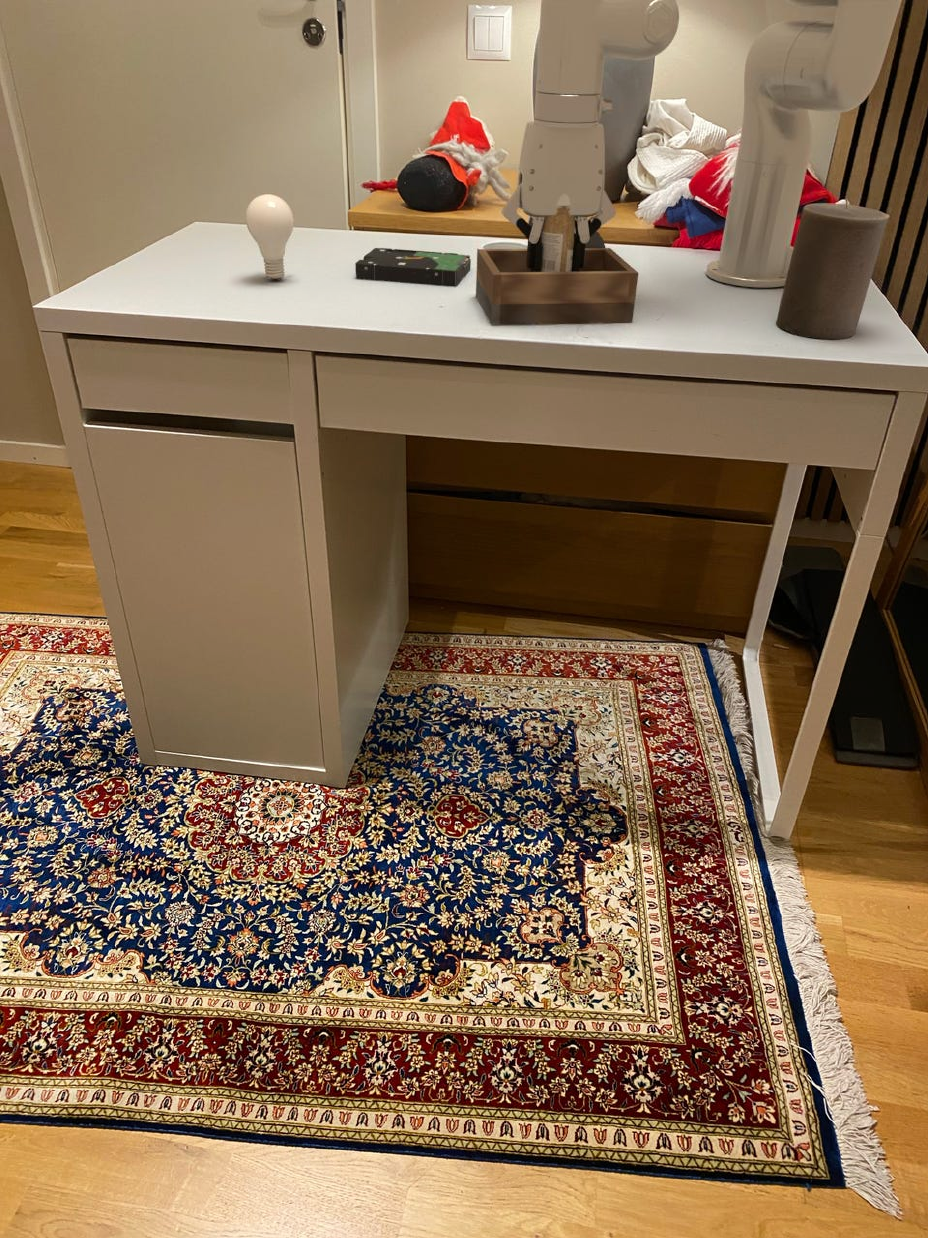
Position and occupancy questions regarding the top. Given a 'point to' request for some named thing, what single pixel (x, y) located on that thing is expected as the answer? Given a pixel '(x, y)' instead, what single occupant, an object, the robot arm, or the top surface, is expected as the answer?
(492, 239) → the top surface
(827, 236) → the pillar candle
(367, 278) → the disk drive
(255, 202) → the lightbulb
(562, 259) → the spice jar
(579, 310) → the wooden box
